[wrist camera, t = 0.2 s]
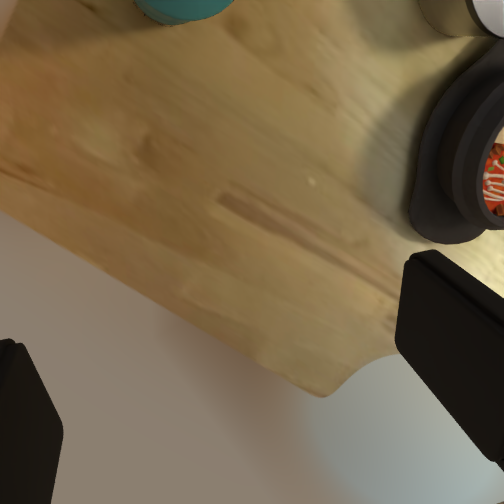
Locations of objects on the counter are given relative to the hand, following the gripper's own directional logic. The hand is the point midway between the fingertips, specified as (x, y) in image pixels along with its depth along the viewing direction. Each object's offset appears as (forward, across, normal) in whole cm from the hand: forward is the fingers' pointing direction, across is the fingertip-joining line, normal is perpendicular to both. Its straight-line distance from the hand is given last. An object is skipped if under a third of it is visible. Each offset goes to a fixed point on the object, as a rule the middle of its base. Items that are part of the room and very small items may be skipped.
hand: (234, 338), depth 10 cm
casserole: (+30, -34, +6) cm, 46 cm away
